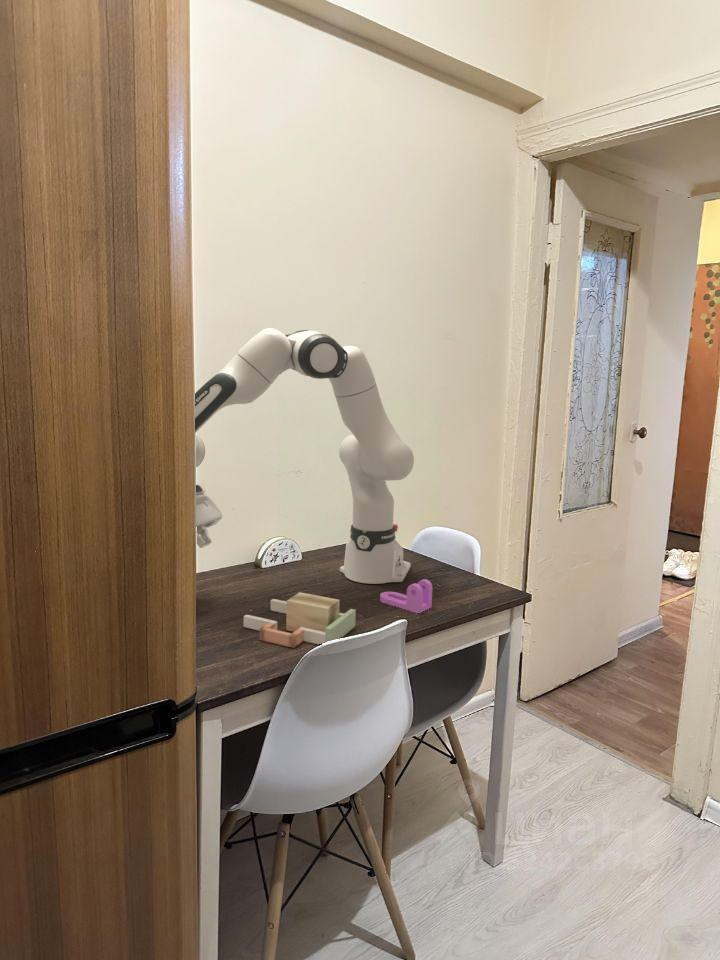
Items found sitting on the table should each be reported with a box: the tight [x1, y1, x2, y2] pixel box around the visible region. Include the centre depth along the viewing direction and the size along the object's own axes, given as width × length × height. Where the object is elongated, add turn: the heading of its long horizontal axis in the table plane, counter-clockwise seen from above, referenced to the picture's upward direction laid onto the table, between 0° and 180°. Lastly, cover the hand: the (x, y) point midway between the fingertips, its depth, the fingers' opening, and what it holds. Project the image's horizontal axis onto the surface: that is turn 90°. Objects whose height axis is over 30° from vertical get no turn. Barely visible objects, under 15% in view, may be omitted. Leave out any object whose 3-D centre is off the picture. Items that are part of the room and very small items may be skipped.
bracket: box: [379, 578, 433, 614], centre depth 168 cm, size 13×6×7 cm, turn 51°
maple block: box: [285, 591, 340, 633], centre depth 150 cm, size 6×10×7 cm, turn 67°
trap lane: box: [243, 598, 357, 649], centre depth 152 cm, size 20×22×4 cm
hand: (206, 545), depth 160 cm, fingers closed
